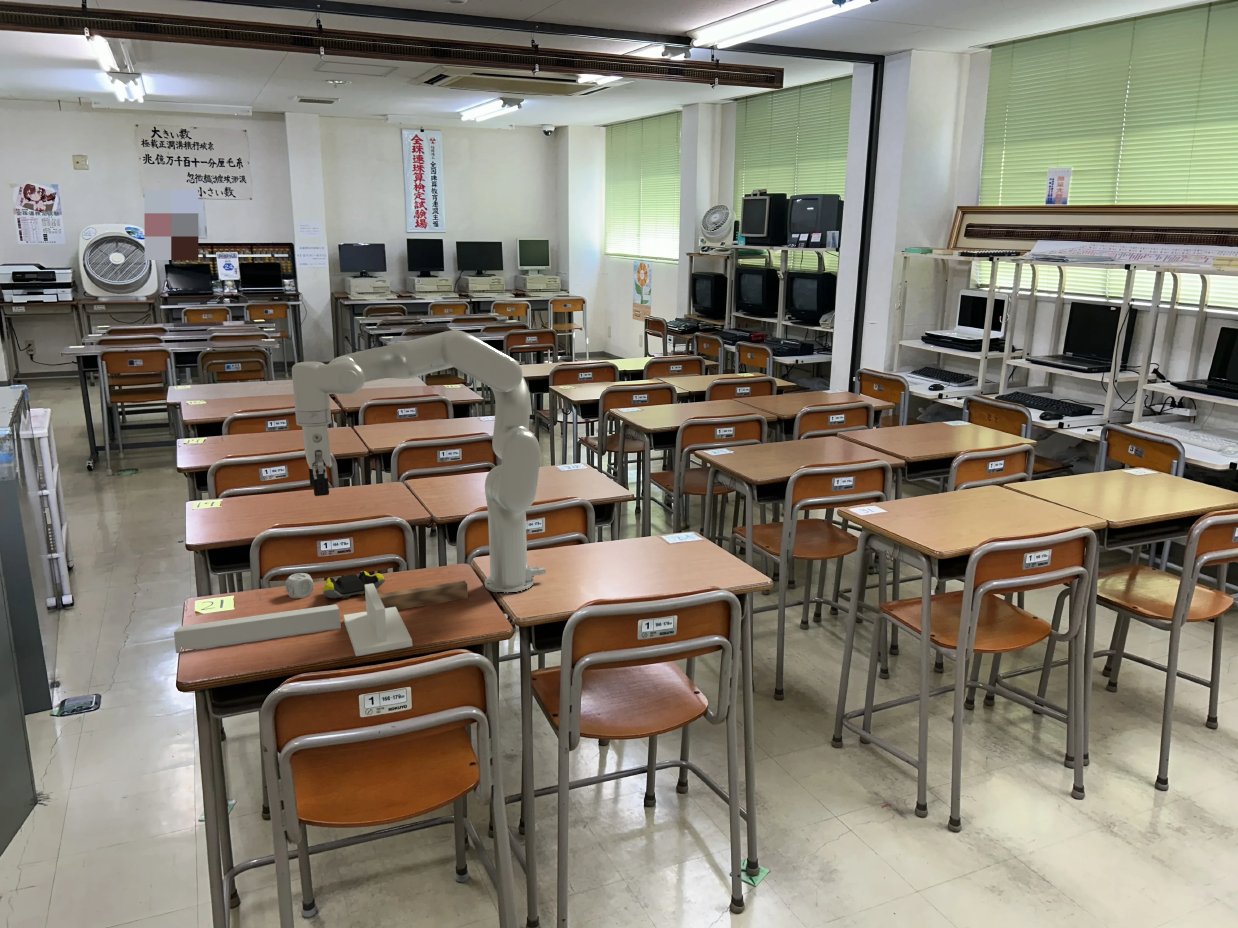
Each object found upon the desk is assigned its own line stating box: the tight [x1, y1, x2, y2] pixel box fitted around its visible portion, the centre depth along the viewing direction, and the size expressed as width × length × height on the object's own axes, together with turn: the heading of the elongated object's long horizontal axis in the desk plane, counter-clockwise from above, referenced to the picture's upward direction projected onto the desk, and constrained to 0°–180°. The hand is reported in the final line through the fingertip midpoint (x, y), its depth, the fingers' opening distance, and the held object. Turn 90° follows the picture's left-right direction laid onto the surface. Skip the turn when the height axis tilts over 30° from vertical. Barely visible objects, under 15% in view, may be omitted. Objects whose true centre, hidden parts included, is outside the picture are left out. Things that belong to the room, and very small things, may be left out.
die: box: [284, 572, 315, 599], centre depth 221 cm, size 5×5×5 cm
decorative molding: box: [173, 604, 342, 654], centre depth 201 cm, size 34×5×10 cm
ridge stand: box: [343, 583, 413, 657], centre depth 199 cm, size 12×20×9 cm, turn 24°
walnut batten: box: [378, 580, 469, 611], centre depth 216 cm, size 24×3×4 cm, turn 115°
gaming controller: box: [322, 570, 386, 599], centre depth 221 cm, size 15×6×10 cm
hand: (319, 489), depth 203 cm, fingers open, 9 cm apart
